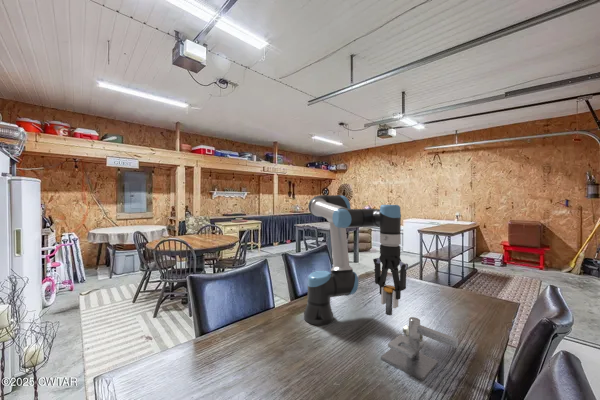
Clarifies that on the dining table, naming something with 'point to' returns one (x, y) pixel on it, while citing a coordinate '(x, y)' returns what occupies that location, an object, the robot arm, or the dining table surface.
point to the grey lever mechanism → (415, 350)
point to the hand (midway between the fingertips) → (389, 305)
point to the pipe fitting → (406, 331)
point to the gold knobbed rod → (389, 298)
